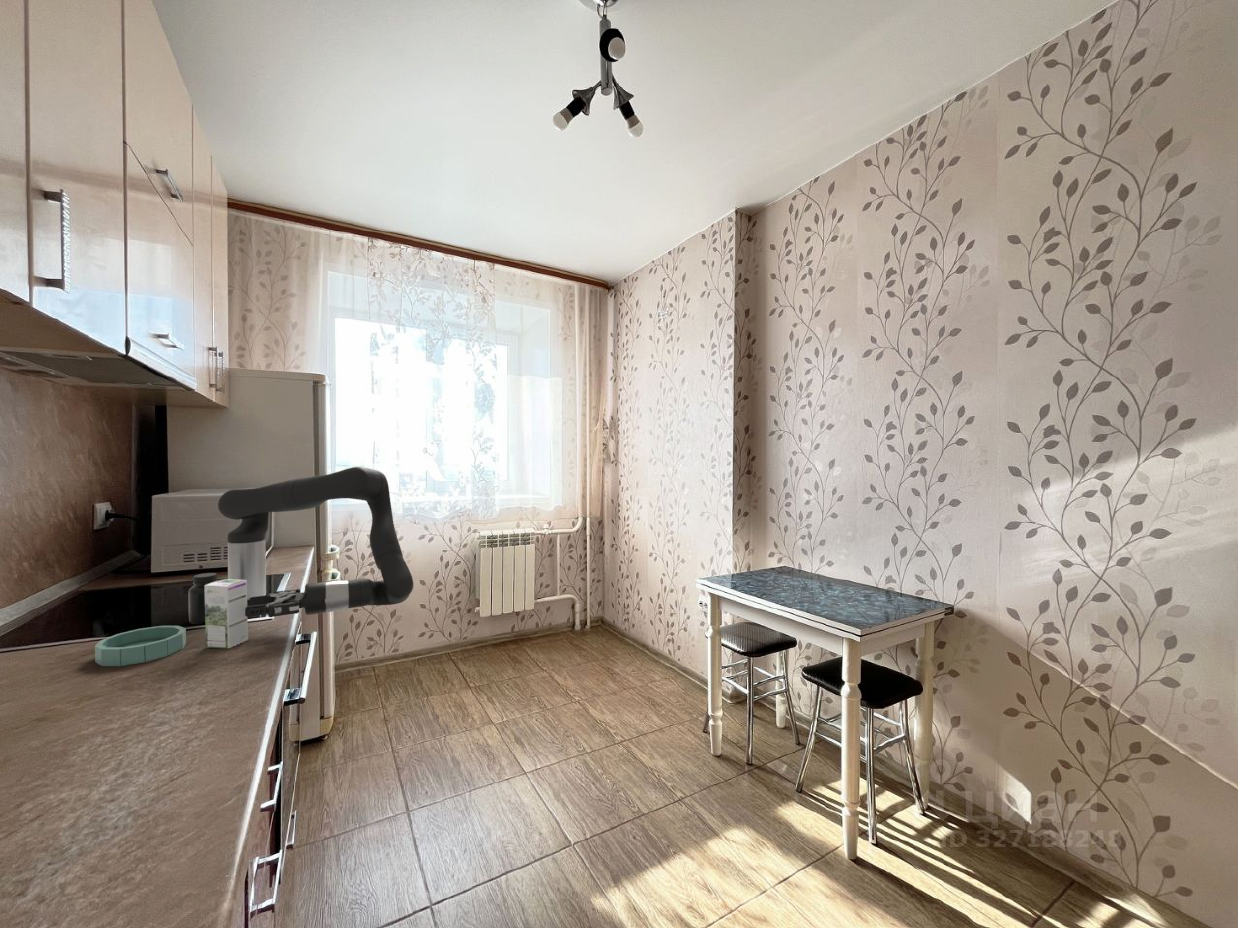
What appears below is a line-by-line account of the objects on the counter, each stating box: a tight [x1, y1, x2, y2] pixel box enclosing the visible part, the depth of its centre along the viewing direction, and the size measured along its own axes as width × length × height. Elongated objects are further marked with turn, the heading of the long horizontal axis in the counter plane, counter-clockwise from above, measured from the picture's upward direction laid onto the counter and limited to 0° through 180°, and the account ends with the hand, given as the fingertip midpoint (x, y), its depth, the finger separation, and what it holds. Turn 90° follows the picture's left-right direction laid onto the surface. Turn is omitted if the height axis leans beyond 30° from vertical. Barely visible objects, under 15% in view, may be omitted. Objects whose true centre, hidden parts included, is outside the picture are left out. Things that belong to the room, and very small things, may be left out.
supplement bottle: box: [188, 572, 219, 625], centre depth 131 cm, size 7×7×12 cm
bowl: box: [94, 625, 187, 667], centre depth 110 cm, size 14×14×4 cm
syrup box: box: [204, 578, 249, 649], centre depth 115 cm, size 6×6×14 cm
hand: (247, 606), depth 117 cm, fingers open, 8 cm apart
